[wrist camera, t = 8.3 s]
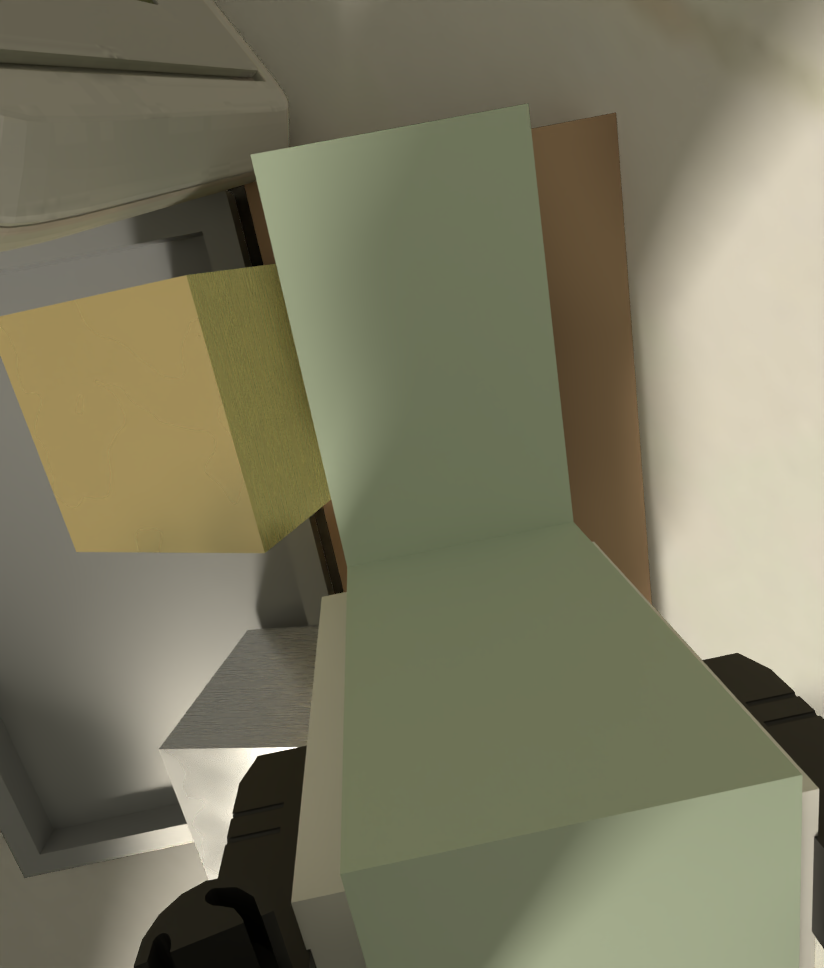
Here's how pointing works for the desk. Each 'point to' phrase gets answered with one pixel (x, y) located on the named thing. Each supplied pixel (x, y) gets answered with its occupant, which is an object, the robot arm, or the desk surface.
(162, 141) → the grey picture frame
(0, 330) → the mustard yellow cube
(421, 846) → the stepped sage beam
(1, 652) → the tray
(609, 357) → the deck
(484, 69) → the desk surface
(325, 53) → the desk surface
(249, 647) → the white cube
